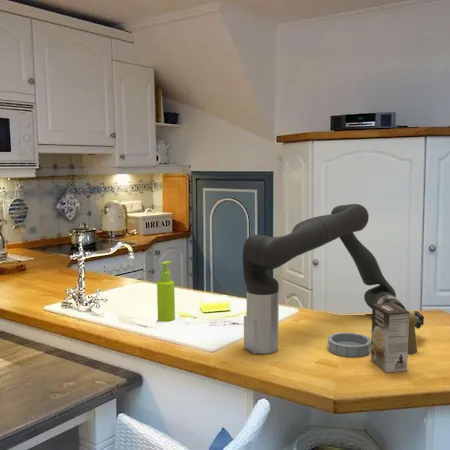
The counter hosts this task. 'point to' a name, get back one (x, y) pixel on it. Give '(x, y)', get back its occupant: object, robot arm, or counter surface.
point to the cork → (412, 334)
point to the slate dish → (349, 344)
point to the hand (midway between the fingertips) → (403, 325)
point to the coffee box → (390, 337)
